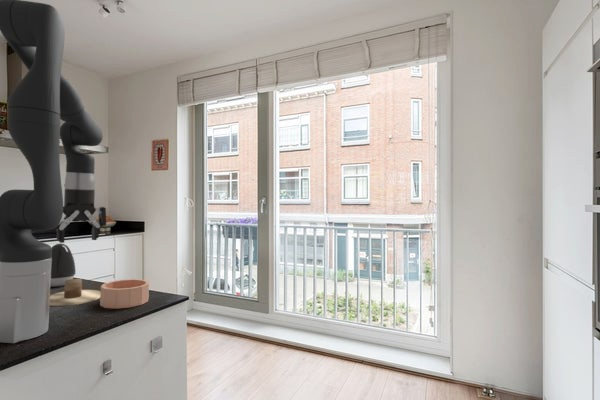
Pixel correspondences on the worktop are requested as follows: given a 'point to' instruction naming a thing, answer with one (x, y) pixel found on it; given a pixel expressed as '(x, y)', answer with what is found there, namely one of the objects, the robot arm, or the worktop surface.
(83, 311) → the worktop surface
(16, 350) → the worktop surface
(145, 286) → the bowl
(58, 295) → the lid
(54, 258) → the pump dispenser
